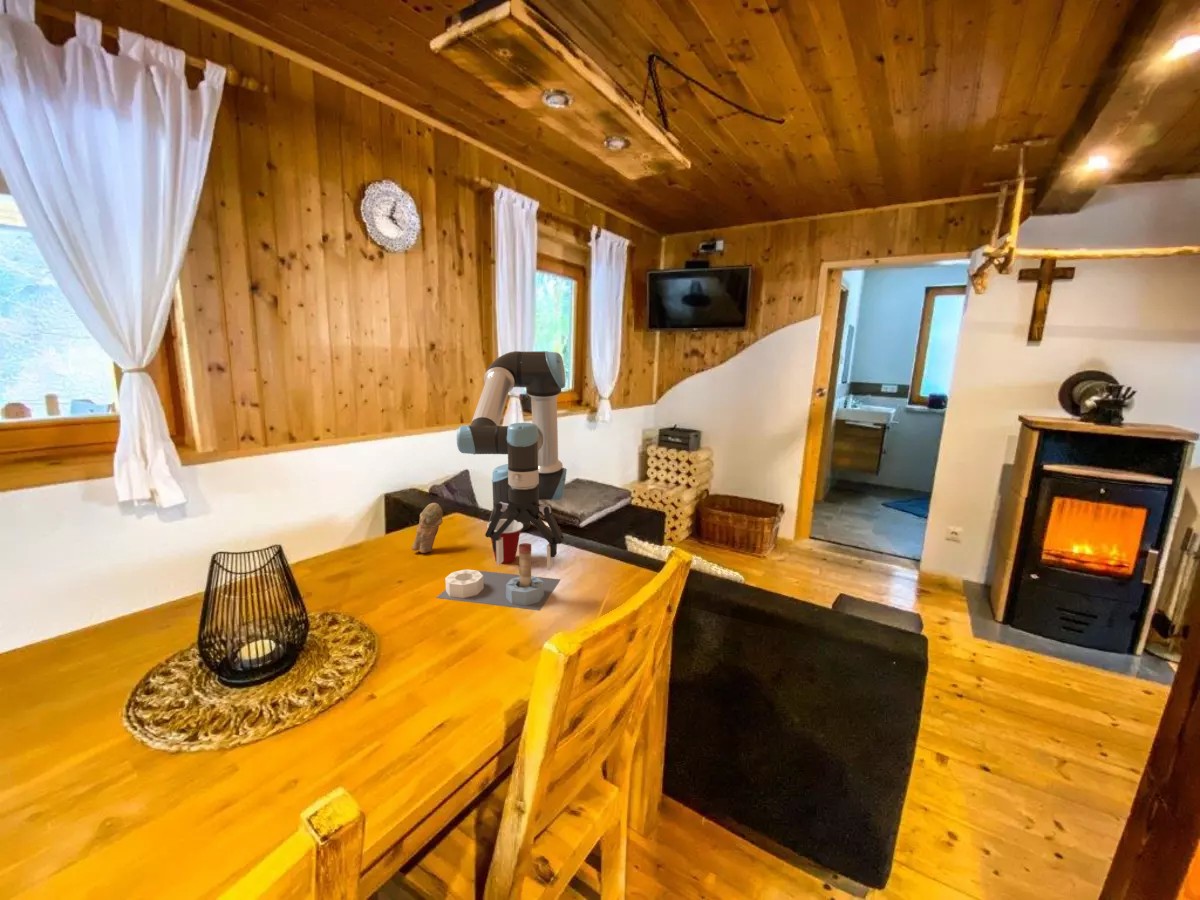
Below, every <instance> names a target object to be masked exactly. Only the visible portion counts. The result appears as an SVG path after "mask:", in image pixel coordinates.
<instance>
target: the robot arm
mask: <svg viewBox="0 0 1200 900" xmlns="http://www.w3.org/2000/svg"><path fill="white" fill-rule="evenodd" d="M483 383H484V386H483V389H482V391H481V394H480V397H479V400H478V401H477V405H476V408H475V411H474V412H473V413H474V414H473V417H472V420H471V422H470V424H466V425H461V426H459V427H458V429H457V431H456V445H457V446H456V447H457V450H458V452H460V453H461V454H468V455H469V454H471V455H507V463H506V464H502V465H499V466H496V467H495V468H494V469H493V470H492V478H491V479H492V480H491V483H492V509H491V514H490V516H489V520H488V523H489V522H490V521H491V523H490V525H489V528H487V530H486V531H485V535H484V536H485V537H486V538H490V539H491V538H492V540H493V547H492V551H496V561H497V562H496V561H495V562H496V565H497V566H500V565H502V564H501V563H502V562H503V537H500V538H499V536H501V534H502V533H503V532H504V531H505V530H506V529H507V527H508V526H509V525H510V524H511V523H512V522H513V521H514V520H516V521H517V522H521V523H522V524H523V528H522V530H521V532H520V533H522V532H524V531H527V530H529V529H530V527H531V524H532V525H533V526H535V527H536V529H537V530H538V531H539V532H540V534H541V535H542V536H543V538H544V539H545V540H546V541H547V545H546V570H547V571H551V570H552V569H553V568H554V558H555V557H556V556H557V552H558V549H557V547H558V545H561V544H562V542H563V541H564V540H565V537H564V535H563V533H562V531H561V529H560V527H559V526H560V525H558V522H557V521H556V518H555V516H554V514H553V510H552V509H553V508H552V505H551V504H547V505H541V504H540V502H539V501H560V500H562V499H563V498H564V495H565V493H564V492H565V486H566V480H567V479H566V478H567V473H568V472H567V470H568V469H567V468H566V467H563V462H562V461H561V460H559V443H558V442H559V441H558V440H559V439H558V438H559V437H558V397H559V395H561V394H562V389H564V388H566V372H565V365H564V361H563V357H562V355H561V354H560V353H559V352H556V351H555V352H553V351H548V350H547V351H544V350H543V351H538V350H537V351H536V350H535V351H519V350H516V351H510V352H507V353H505V354H503V355H501V356H499V357H498V358H496V359H494V361H492V362H491V363H490V365H489V366H488V367H487V368H486V370H485V374H484V376H483ZM513 388H525V389H526V394H527V396H529V397H530V400H531V401H530V403H531V418H532V419H531V421H532V422H516V423H511V424H509V425H500V424H501V420H502V419H503V418H502V417H503V414H504V410H505V406H506V404H507V399H508V396H509V393H510V392H511V391H512V390H513ZM540 512H541V513H542V515H543V516H544V518H545V520H546V523H547V524H548V526H549V527H548V526H547V525H546V523H545V522H544V520H542V517H541V516H540V514H539V513H540ZM500 519H507V520H506V521H505V523H504V524H503V525H502V526H501V527H500V528H499V529H498V531H497V532H494V531H495V529H496V526H497V524H498V522H499V520H500Z"/></svg>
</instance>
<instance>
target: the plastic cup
mask: <svg viewBox="0 0 1200 900" xmlns="http://www.w3.org/2000/svg"><path fill="white" fill-rule="evenodd" d="M506 520H507V519H500V520H499V522H498V524H497V526H496V529H495V531H494V532H497V531H498V529H499V528H500V527H501V526H502V525H503V524H504V523H505V521H506ZM490 523H491V521H490V522H489V521H488V523H487V524H486V527H487V529H488V528H489V525H490ZM522 528H523V524H522V523H521V522H517V521H516V520H514V521H513V522H512V523H511V524H510V525H509V526H508V527H507V529H506V530H505V531H504V532H503V533H502V534H501V536H499V538H500V537H503V562H502V563H501V564H500V565H506V564H512V563H514V562H515V560H516V558H517V557H516V556H517V551H518V548H519V540H520V535H521V533H522V532H521V530H522ZM490 541H491V544H492V545H491V547H492V548H493V540H492V538H490ZM492 551H493V550H492ZM493 555H494V560H495V562H496V563H497V561H496V551H493Z"/></svg>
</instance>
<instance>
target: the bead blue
mask: <svg viewBox="0 0 1200 900" xmlns="http://www.w3.org/2000/svg"><path fill="white" fill-rule="evenodd" d="M538 577H539V576H534V577H532V575H531V587H527V588H521V587H519V577H517V578H513V579H511V580H510V581H509V582H508V583H507V584H506V598H507V599H508V600H509V601H510V602H511V604H516V605H525V606H526V605H530V604H534V603H537V602H540V600H541V599H542V597H543V596H544V582H543V581H542V580H541V579H539V578H538Z"/></svg>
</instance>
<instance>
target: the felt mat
mask: <svg viewBox="0 0 1200 900" xmlns="http://www.w3.org/2000/svg"><path fill="white" fill-rule="evenodd" d="M467 570H470V569H467ZM475 570H476V569H475ZM476 571H479V572H480V573H481V574H482V575H483V585H484V588H483V589H482V590H481V591H480V592H479V593H478V594H477V595H474V596H470V597H466V598H458V597H450V596H449V595H448V593H447V592H446V588H445V590H443V591H442V592H440V594H439V595H437V596H436V597H435V599H439V600H449V601H457V602H458V601H459V602H466V603H473V604H483V605H491V606H498V607H499V606H500V607H506V608H514V609H516V608H517V609H521V610H522V609H523V610H532V611H541V610H542V608H543V606H544V605H545V604H546V602H547V601H548V599H549V597H550V596H552V595H551V594H553V592H554V590H555V588H556V587H557V585H559V583H560V581H561V578H550V577H542V576H537V577H538V578H539V579H541V580H542V581H543V582H544V596H543V597H542V599H541V600H540V602H537V603H534V604H530V605H526V606H525V605H516V604H511V602H510V601H509V600H508V599H507V598H506V584H507V583H508V582H509V581H510V580H511V579H513V578H517V577H519V574H514V573H513V574H512V573H506V572H505V573H504V572H495V571H486V570H485V571H484V570H476ZM531 576H532V575H531ZM532 577H535V576H534V575H533V576H532Z"/></svg>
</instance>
